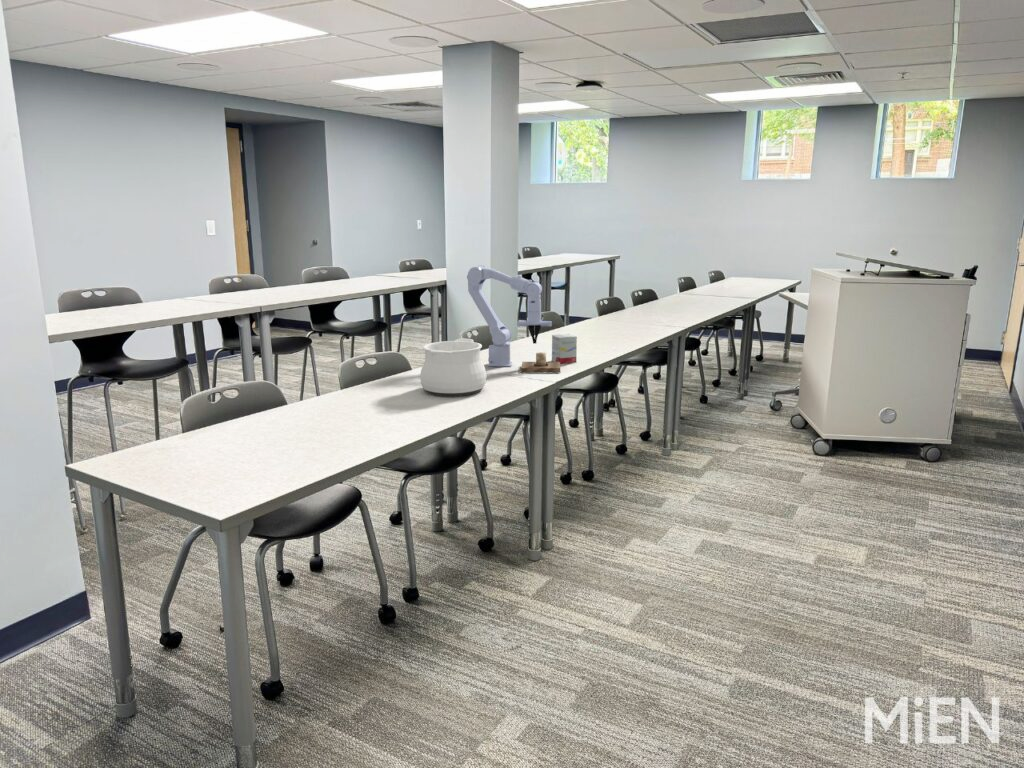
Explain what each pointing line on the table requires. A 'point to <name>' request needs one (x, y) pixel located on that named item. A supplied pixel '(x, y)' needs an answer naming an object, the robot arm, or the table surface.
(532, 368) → the board
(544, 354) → the peg
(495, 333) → the robot arm
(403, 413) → the table surface
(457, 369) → the pot
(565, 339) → the ink box
